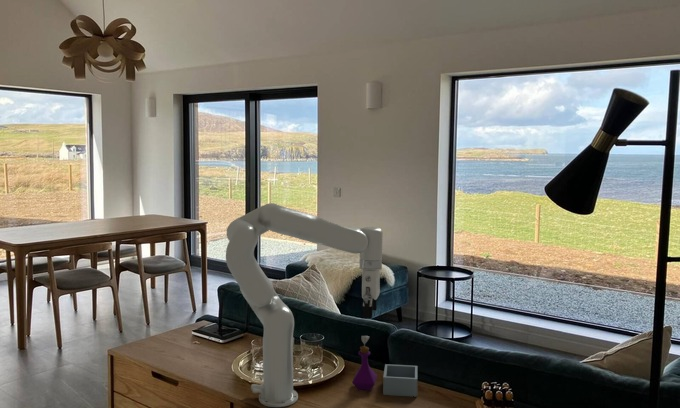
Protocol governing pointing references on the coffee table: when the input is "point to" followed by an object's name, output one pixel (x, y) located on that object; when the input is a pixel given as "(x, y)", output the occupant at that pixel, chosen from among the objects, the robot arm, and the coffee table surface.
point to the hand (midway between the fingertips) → (369, 313)
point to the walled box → (400, 380)
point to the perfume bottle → (364, 370)
